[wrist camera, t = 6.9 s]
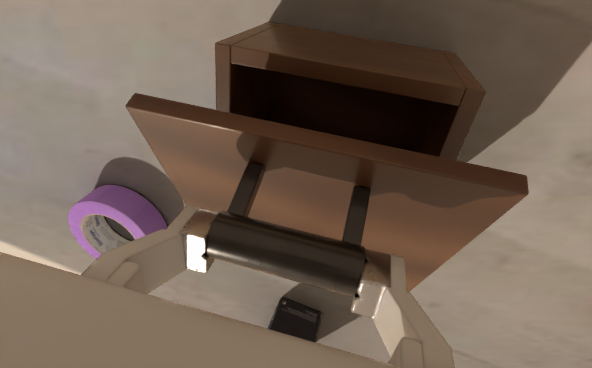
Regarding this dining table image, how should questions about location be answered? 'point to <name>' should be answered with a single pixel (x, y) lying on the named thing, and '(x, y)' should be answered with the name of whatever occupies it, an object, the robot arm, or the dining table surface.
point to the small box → (296, 320)
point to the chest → (349, 87)
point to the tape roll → (117, 206)
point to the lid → (319, 195)
